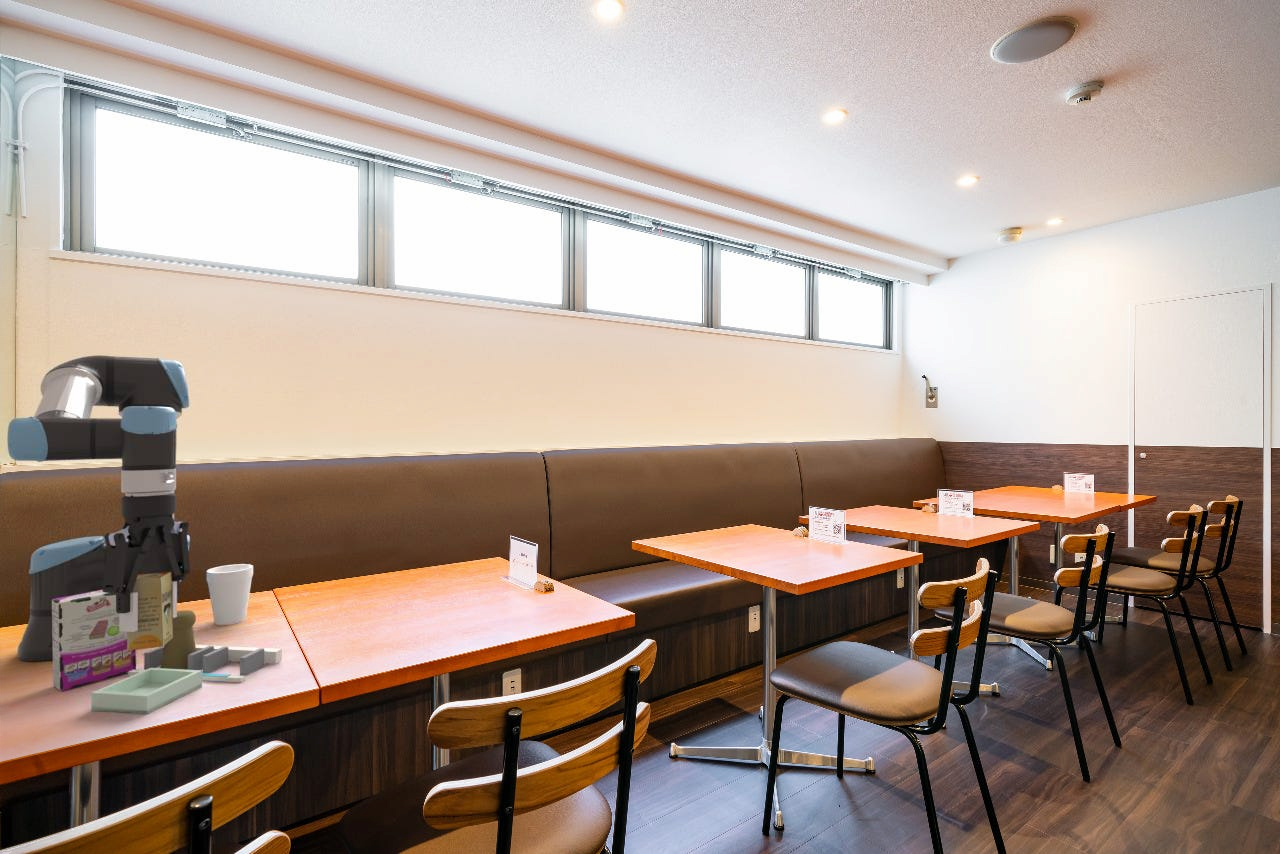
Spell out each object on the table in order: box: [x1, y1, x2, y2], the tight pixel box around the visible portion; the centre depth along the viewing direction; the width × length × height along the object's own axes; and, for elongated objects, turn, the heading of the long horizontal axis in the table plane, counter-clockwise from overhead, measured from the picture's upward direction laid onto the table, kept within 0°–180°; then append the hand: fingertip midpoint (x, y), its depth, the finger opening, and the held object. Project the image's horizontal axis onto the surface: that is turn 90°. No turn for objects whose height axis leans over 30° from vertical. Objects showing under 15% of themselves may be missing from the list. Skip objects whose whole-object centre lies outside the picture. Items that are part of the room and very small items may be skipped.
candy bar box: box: [52, 590, 137, 692], centre depth 113 cm, size 11×5×16 cm, turn 148°
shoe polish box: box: [127, 572, 173, 651], centre depth 104 cm, size 5×5×12 cm
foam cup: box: [206, 563, 254, 626], centre depth 147 cm, size 10×9×13 cm
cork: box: [160, 609, 197, 670], centre depth 118 cm, size 6×6×11 cm
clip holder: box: [127, 644, 283, 683], centre depth 118 cm, size 24×10×4 cm, turn 83°
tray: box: [90, 667, 203, 715], centre depth 105 cm, size 11×11×3 cm
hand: (149, 623), depth 104 cm, fingers closed on shoe polish box, 7 cm apart
